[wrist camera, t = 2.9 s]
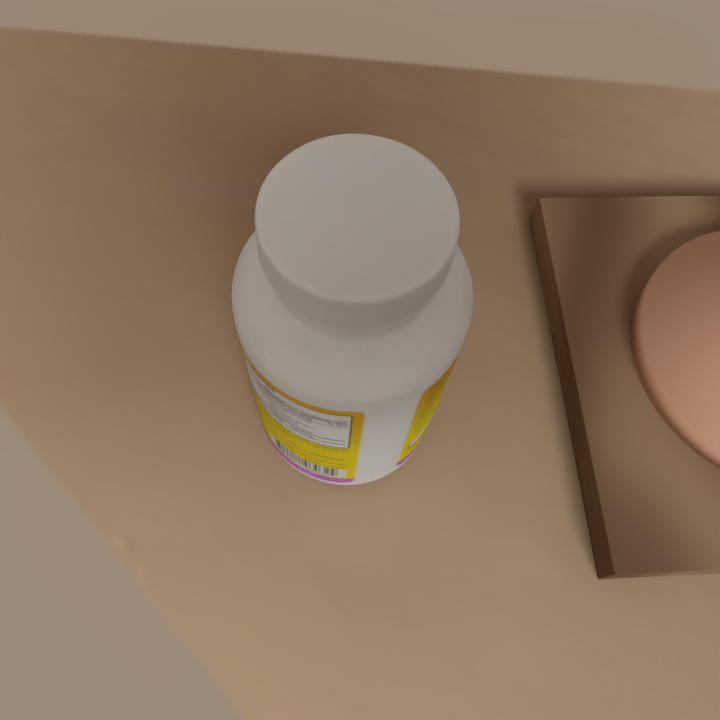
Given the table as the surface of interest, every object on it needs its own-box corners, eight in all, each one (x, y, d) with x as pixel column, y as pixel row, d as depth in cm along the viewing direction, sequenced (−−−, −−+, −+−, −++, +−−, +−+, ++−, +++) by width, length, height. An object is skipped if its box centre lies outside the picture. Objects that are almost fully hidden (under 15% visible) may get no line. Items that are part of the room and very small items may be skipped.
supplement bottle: (399, 318, 29) (453, 79, 17) (449, 464, 26) (554, 303, 14) (244, 353, 27) (186, 125, 16) (281, 509, 25) (244, 376, 13)
